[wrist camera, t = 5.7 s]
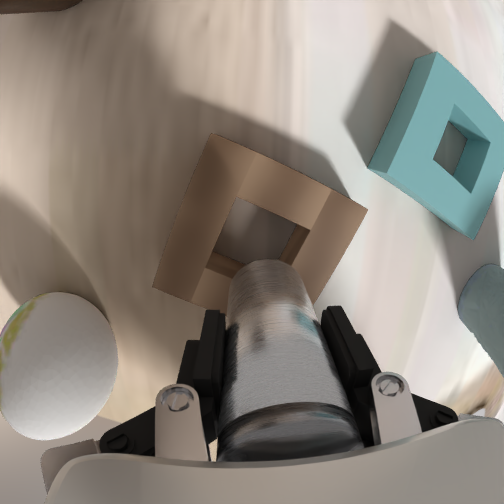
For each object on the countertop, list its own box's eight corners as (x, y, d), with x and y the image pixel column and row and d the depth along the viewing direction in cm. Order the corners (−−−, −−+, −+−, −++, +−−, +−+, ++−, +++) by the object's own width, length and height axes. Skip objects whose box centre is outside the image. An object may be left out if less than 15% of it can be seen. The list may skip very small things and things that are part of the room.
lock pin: (317, 276, 15) (394, 437, 6) (282, 333, 16) (312, 495, 7) (247, 246, 14) (255, 421, 5) (217, 310, 16) (197, 482, 6)
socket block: (491, 133, 20) (514, 136, 17) (452, 228, 24) (473, 240, 21) (415, 58, 18) (437, 51, 15) (367, 168, 22) (386, 173, 18)
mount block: (351, 199, 23) (368, 209, 19) (286, 315, 26) (291, 338, 23) (215, 134, 20) (211, 133, 17) (162, 267, 24) (152, 286, 21)
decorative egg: (34, 261, 24) (-58, 343, 10) (134, 297, 25) (66, 424, 11) (44, 345, 28) (-11, 429, 14) (128, 379, 30) (92, 485, 16)
